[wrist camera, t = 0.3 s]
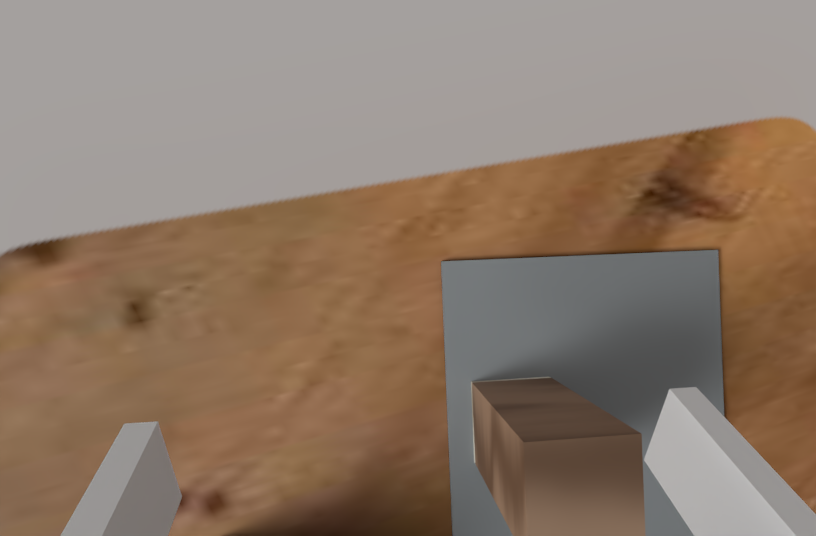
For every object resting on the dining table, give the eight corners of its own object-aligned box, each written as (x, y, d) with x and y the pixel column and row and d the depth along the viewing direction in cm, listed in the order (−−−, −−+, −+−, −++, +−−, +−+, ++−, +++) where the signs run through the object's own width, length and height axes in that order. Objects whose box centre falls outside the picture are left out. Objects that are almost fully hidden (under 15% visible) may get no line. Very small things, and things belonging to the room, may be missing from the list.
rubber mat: (724, 554, 31) (729, 557, 30) (454, 580, 29) (455, 584, 29) (713, 250, 31) (718, 249, 30) (441, 261, 29) (441, 261, 29)
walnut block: (552, 455, 29) (646, 554, 19) (474, 461, 29) (528, 564, 19) (549, 376, 29) (641, 433, 19) (471, 381, 29) (523, 442, 19)
